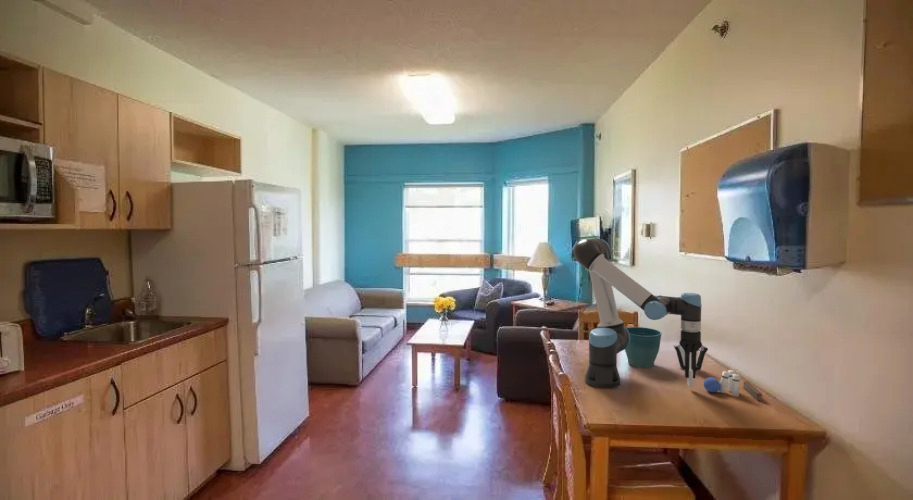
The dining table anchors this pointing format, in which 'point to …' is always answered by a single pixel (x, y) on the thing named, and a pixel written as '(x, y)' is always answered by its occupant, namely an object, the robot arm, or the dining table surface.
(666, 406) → the dining table surface
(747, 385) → the wall
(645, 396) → the dining table surface
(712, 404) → the dining table surface
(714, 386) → the ball
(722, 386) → the front pin
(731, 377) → the pin
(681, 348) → the beverage can
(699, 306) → the robot arm
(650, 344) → the flower pot
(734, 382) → the pin
